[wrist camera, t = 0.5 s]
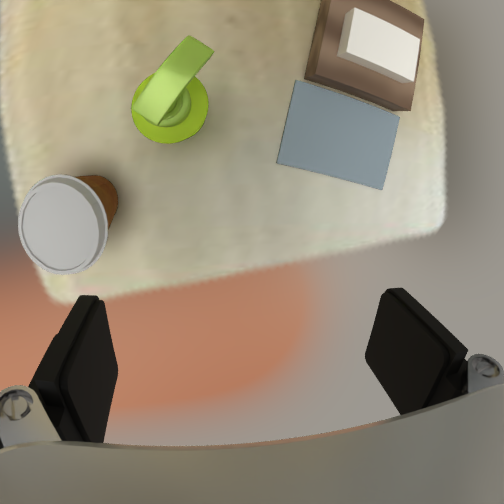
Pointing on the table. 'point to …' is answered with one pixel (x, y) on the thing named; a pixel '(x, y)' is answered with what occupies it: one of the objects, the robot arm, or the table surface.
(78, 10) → the table surface
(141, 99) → the soap dispenser
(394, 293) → the robot arm
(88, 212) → the disposable coffee cup
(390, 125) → the mat
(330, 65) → the brown wooden block
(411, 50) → the tile
